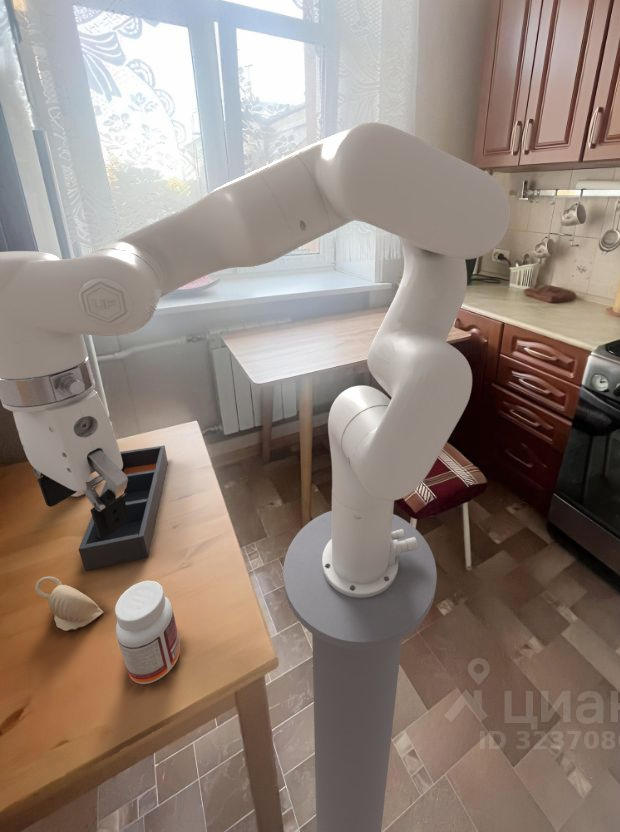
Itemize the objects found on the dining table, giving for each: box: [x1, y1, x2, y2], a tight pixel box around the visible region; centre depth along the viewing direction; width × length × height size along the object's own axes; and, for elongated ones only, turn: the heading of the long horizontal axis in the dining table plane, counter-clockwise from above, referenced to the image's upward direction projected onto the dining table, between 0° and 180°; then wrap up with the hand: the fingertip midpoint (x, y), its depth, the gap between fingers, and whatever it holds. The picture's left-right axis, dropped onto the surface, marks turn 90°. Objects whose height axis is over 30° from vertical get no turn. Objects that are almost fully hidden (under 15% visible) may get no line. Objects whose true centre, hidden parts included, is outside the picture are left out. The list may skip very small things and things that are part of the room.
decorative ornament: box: [35, 575, 104, 632], centre depth 55 cm, size 4×8×5 cm, turn 64°
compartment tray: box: [77, 445, 169, 571], centre depth 74 cm, size 9×26×5 cm, turn 18°
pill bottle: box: [114, 580, 181, 685], centre depth 49 cm, size 6×6×11 cm
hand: (87, 513), depth 45 cm, fingers open, 9 cm apart
